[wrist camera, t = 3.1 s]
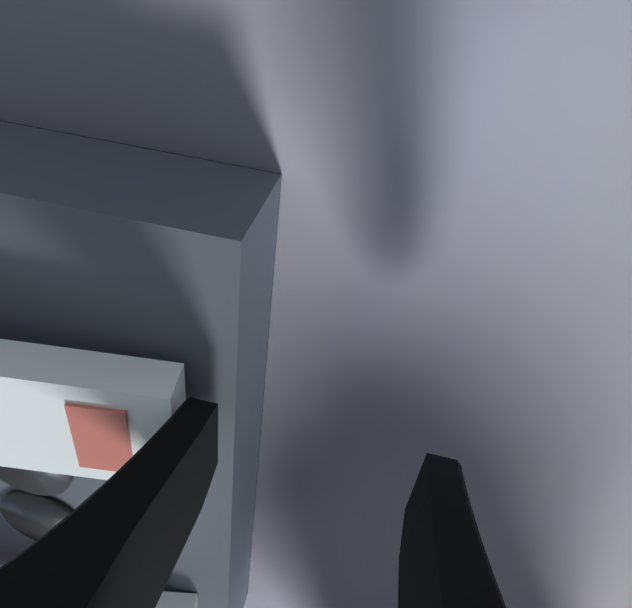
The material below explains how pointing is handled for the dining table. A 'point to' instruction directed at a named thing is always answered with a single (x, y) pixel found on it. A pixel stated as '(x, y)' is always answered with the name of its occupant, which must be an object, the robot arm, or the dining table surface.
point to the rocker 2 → (177, 600)
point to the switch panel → (143, 312)
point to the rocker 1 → (81, 407)
